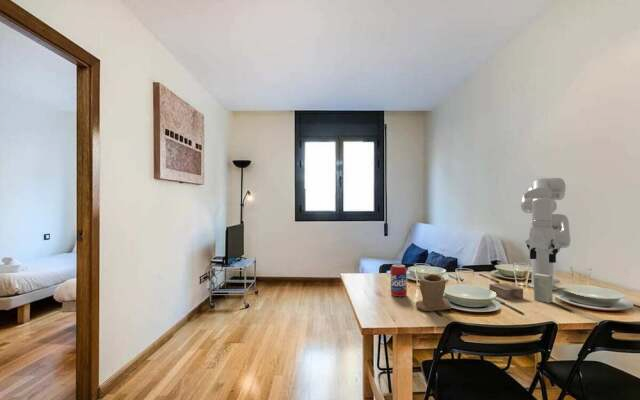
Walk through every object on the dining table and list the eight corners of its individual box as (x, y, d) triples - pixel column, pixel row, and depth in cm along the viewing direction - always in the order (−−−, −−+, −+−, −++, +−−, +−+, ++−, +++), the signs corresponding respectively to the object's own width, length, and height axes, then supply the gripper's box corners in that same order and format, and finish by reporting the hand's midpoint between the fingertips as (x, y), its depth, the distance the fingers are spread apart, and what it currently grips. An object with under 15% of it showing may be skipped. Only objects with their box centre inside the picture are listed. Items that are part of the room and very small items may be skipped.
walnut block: (506, 292, 155) (506, 283, 155) (523, 299, 145) (522, 288, 145) (489, 294, 153) (489, 284, 153) (504, 300, 144) (504, 289, 144)
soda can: (405, 293, 155) (405, 263, 155) (408, 297, 147) (408, 267, 147) (389, 292, 156) (389, 263, 156) (391, 297, 148) (391, 266, 148)
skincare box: (553, 301, 140) (552, 275, 141) (549, 303, 138) (548, 276, 138) (536, 298, 146) (536, 272, 146) (533, 299, 143) (532, 274, 143)
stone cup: (424, 315, 125) (424, 279, 125) (412, 305, 136) (412, 272, 136) (458, 313, 126) (458, 277, 126) (444, 304, 138) (443, 271, 138)
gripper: (519, 223, 150) (520, 257, 149) (553, 225, 133) (553, 264, 132) (532, 223, 151) (532, 257, 151) (567, 225, 134) (567, 263, 134)
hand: (542, 260), depth 142 cm, fingers open, 9 cm apart
